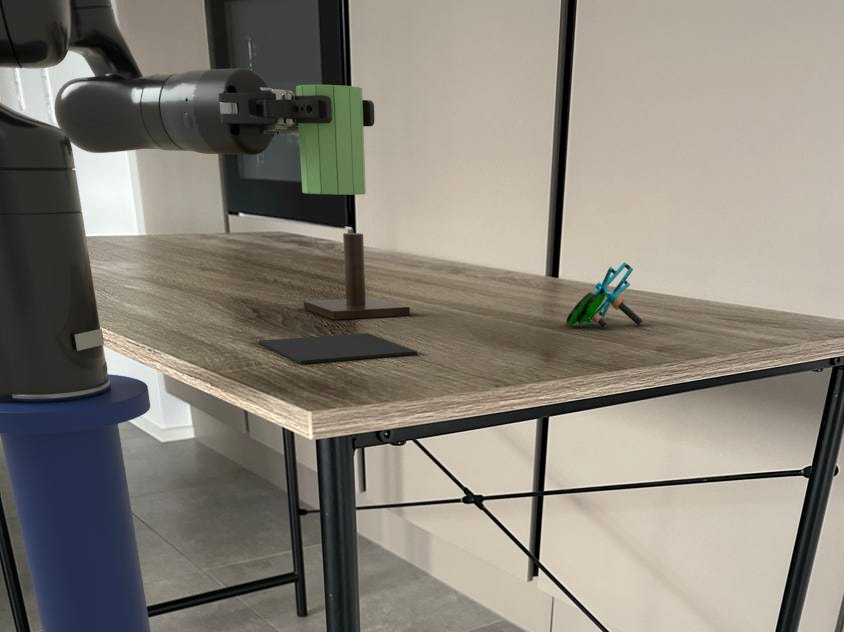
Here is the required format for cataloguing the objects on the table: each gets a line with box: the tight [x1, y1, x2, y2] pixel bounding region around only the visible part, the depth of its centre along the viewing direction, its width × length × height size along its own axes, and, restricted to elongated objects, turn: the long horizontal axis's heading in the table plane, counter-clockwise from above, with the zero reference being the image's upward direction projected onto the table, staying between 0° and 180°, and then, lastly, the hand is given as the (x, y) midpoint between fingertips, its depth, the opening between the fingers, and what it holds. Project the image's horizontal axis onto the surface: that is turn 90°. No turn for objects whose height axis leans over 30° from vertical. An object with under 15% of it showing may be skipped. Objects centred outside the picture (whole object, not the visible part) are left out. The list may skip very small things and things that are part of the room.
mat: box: [258, 332, 418, 365], centre depth 94 cm, size 12×12×1 cm
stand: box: [303, 232, 411, 321], centre depth 115 cm, size 10×10×9 cm
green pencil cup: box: [295, 84, 367, 196], centre depth 90 cm, size 6×6×9 cm
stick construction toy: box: [565, 261, 643, 328], centre depth 110 cm, size 12×7×8 cm
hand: (351, 111), depth 88 cm, fingers closed on green pencil cup, 6 cm apart
